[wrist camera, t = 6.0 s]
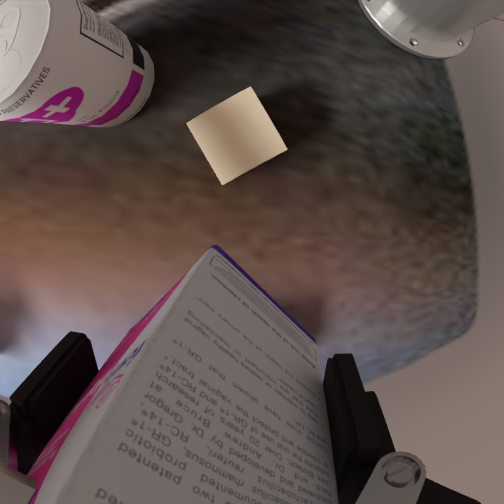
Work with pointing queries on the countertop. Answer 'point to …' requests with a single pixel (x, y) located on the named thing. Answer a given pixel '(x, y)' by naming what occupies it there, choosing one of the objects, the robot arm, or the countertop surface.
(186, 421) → the supplement box
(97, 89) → the supplement can
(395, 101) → the countertop surface
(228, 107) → the birch block
